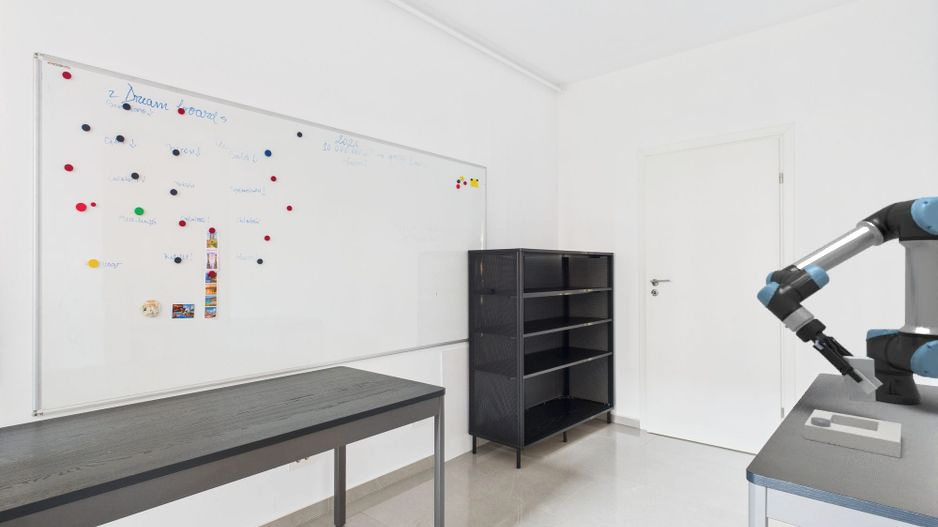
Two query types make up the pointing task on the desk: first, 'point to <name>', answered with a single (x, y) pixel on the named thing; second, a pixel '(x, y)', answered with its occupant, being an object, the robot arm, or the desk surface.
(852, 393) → the skincare box
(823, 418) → the housing
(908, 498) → the desk surface
